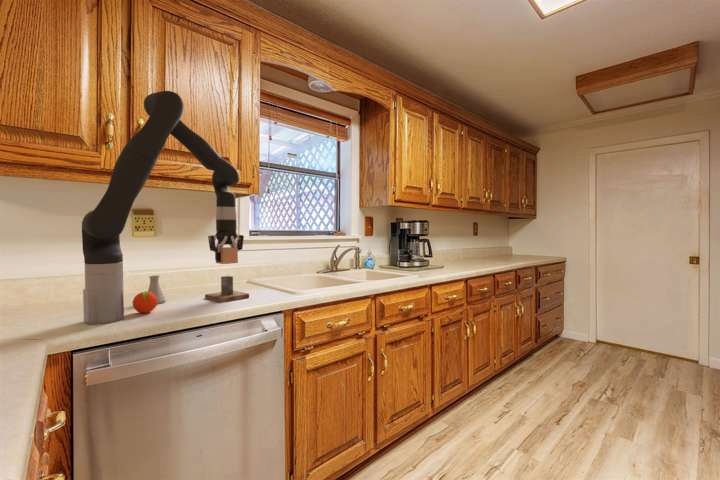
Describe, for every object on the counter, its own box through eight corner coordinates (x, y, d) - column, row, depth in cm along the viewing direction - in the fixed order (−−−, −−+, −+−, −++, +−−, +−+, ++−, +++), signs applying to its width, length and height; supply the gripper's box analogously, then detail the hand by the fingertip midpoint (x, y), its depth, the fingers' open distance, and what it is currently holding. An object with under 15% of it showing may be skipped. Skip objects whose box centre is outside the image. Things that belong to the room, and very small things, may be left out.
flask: (138, 304, 126) (138, 277, 125) (151, 300, 133) (151, 274, 133) (158, 305, 126) (158, 277, 125) (170, 300, 133) (169, 274, 132)
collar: (223, 264, 133) (223, 248, 133) (215, 263, 137) (215, 247, 137) (237, 262, 138) (237, 247, 138) (229, 261, 142) (229, 247, 142)
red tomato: (157, 314, 112) (157, 292, 111) (131, 317, 108) (131, 294, 108) (157, 309, 119) (157, 288, 118) (133, 311, 115) (133, 290, 115)
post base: (220, 302, 130) (220, 279, 129) (205, 298, 138) (204, 276, 137) (249, 297, 139) (248, 276, 139) (233, 293, 147) (233, 273, 146)
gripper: (213, 218, 129) (213, 263, 130) (247, 219, 140) (248, 260, 141) (203, 218, 134) (204, 262, 135) (237, 219, 145) (238, 259, 146)
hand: (226, 261), depth 138 cm, fingers closed on collar, 6 cm apart
